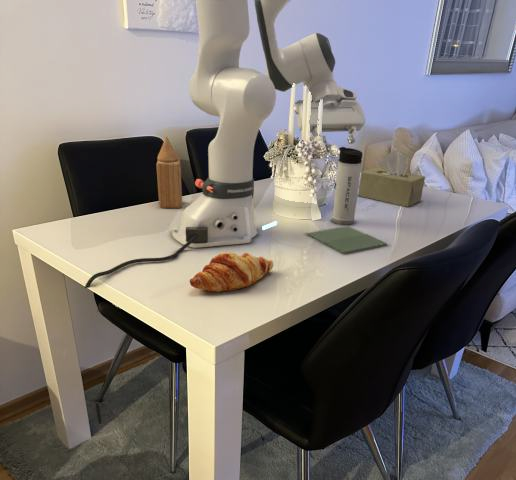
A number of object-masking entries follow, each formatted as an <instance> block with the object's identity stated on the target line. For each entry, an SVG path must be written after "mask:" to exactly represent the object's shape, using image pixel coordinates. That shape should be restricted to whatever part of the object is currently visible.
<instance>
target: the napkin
mask: <svg viewBox="0 0 516 480" xmlns="http://www.w3.org/2000/svg"><path fill="white" fill-rule="evenodd" d="M306 235H307V236H309V237H311V238H313V239H315V240H316V241H318V242H321V243H322V244H324V245H326V246H328V247H330V248H332V249H333V250H335V251H336V252H337V251H338V252H339V253H341V254H343V255H347V254H352V253H353V254H354V253H357V252H362V251H367V250H372V249H376V248H383V247H387V246H388V243H387V242H385V241H383V240H380V239H378V238H376V237H374V236H372V235H369V234H368V233H363V232H361V231H359V230H357V229H354V228H352V227H350V226H341V227H336V228H330V229H325V230H318V231H314V232H313V231H312V232H307V233H306Z"/></svg>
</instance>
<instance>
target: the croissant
mask: <svg viewBox="0 0 516 480" xmlns="http://www.w3.org/2000/svg"><path fill="white" fill-rule="evenodd" d="M273 267H274V261H273V260H271V259H270V260H268V259H267V258H265V257H264V256H259V257H257V256H253V255H252V254H250V253H248V252H244V253H243V254H241V255H238V254H237V253H235V252H223V253H219V254H217V255H216V256H213V257H212V258H211V260H210V261H209V263H208V264H206V265H205V266H204V267H203V268H202V270H201V271H199V272H198V273H196V274H195V275H194V276H193V278H190V279H189V284H190V286H191V287H193V288H194V289H198V290H206V291H209V292H216V293H220V292H224V291H235V290H238V289H242V288H247V287H249V286H251V285H253V284H254V283H256V282H257V281H258V280H260V279H262V278H263V277H264V276H265V275H266V274H268V273H270V272H271V271H272V269H273Z"/></svg>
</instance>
